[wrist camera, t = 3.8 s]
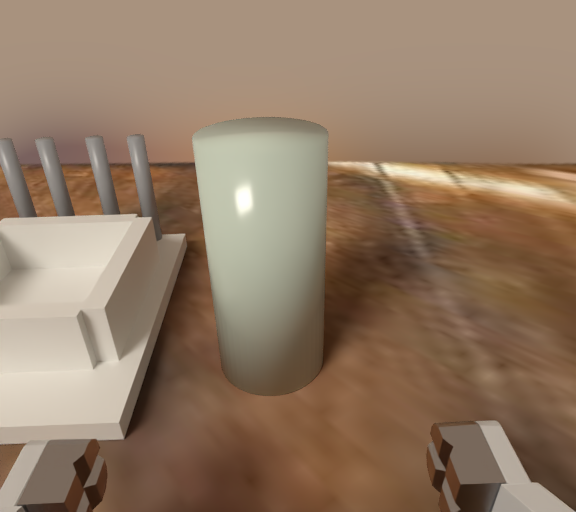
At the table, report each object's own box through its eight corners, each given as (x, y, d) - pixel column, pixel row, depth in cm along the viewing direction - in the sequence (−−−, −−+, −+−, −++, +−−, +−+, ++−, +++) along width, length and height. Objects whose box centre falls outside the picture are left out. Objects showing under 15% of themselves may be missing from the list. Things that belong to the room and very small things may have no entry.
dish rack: (187, 246, 32) (169, 133, 28) (124, 439, 18) (72, 272, 14) (15, 252, 32) (-27, 139, 28) (-177, 451, 18) (-315, 286, 14)
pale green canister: (318, 322, 25) (321, 115, 19) (328, 393, 20) (336, 152, 15) (225, 326, 25) (201, 119, 19) (215, 398, 20) (181, 157, 15)
